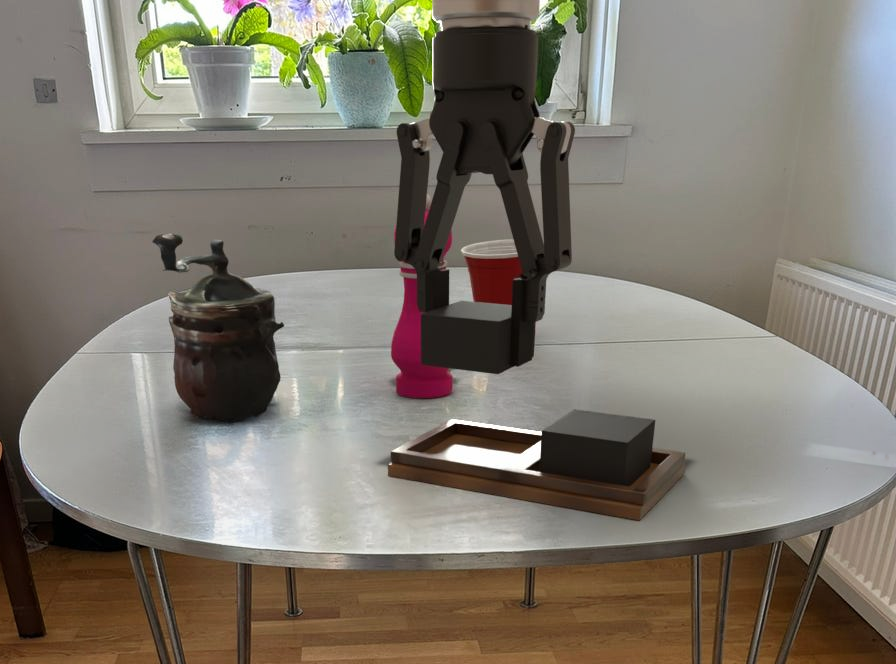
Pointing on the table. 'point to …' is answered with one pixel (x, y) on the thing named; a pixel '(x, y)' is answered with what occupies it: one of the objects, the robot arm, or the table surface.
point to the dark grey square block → (468, 337)
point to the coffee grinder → (221, 338)
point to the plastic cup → (492, 270)
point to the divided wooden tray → (525, 470)
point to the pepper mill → (416, 341)
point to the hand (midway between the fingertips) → (478, 357)
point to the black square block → (598, 447)
